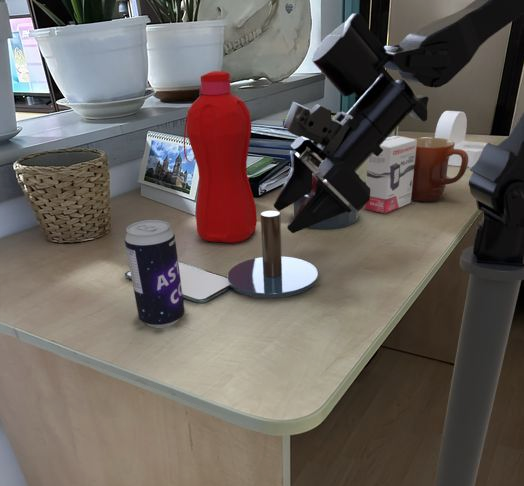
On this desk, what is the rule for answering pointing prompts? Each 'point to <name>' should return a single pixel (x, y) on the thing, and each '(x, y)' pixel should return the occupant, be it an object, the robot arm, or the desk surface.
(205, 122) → the water bottle
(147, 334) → the desk surface
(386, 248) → the desk surface
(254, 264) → the lid
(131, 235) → the beverage can
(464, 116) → the tape dispenser
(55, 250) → the desk surface
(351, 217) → the pot
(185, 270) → the smartphone
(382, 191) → the ink box
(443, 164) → the mug
